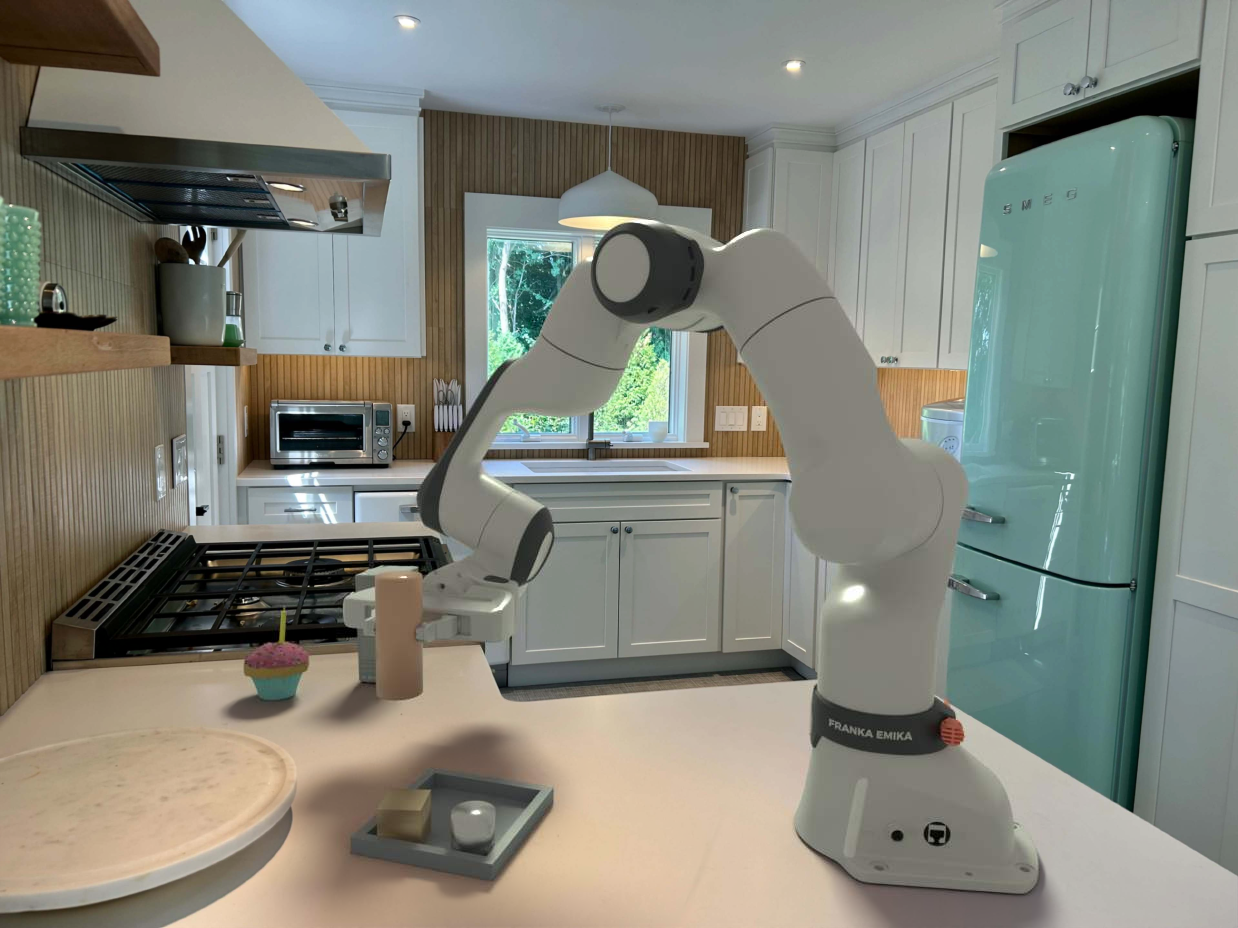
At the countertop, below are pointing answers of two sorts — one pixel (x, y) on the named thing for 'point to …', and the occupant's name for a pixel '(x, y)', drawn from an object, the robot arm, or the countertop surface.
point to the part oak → (405, 815)
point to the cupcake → (277, 666)
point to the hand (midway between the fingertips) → (395, 631)
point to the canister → (398, 635)
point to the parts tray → (513, 823)
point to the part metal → (473, 827)
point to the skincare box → (364, 642)
